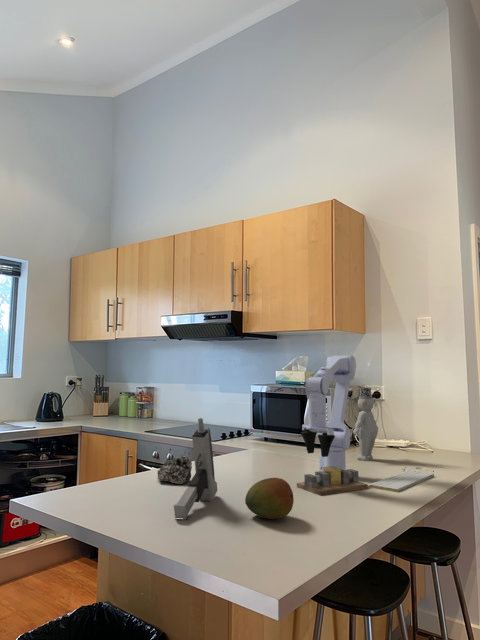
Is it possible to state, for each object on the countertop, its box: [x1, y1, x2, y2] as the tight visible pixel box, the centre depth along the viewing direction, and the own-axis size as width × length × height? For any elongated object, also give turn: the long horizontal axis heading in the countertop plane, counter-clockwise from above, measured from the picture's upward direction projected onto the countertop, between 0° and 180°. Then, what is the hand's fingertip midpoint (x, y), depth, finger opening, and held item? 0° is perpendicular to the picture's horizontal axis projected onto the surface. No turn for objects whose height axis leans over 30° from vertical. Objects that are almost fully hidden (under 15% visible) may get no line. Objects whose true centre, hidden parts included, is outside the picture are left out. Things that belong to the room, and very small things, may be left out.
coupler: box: [323, 466, 341, 486], centre depth 154 cm, size 4×4×5 cm
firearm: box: [173, 417, 218, 519], centre depth 131 cm, size 4×24×25 cm
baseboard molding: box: [368, 466, 435, 493], centre depth 164 cm, size 31×3×12 cm
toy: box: [353, 387, 379, 462], centre depth 205 cm, size 18×9×30 cm, turn 136°
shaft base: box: [296, 468, 369, 496], centre depth 154 cm, size 12×19×5 cm, turn 119°
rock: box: [156, 455, 193, 485], centre depth 162 cm, size 13×10×10 cm
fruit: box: [245, 477, 294, 520], centre depth 122 cm, size 12×12×10 cm
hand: (317, 454), depth 160 cm, fingers open, 7 cm apart
